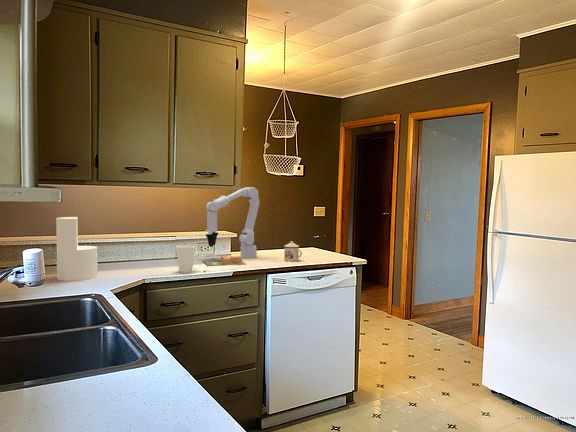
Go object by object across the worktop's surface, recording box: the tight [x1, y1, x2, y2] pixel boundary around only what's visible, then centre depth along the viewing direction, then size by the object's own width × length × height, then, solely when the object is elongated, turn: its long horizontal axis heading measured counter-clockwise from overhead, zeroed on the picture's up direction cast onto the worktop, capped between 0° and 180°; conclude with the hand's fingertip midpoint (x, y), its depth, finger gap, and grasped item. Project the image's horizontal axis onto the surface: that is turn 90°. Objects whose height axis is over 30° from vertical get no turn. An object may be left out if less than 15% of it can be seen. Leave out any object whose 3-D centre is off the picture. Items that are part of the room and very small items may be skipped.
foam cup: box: [175, 244, 196, 274], centre depth 227 cm, size 10×9×13 cm
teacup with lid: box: [283, 241, 303, 262], centre depth 268 cm, size 12×9×12 cm
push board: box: [201, 259, 247, 267], centre depth 251 cm, size 22×20×1 cm
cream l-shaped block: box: [55, 216, 99, 282], centre depth 209 cm, size 17×17×28 cm
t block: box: [220, 255, 243, 264], centre depth 253 cm, size 10×12×3 cm
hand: (212, 245), depth 260 cm, fingers open, 7 cm apart
